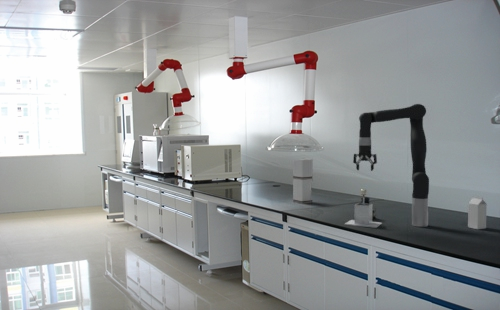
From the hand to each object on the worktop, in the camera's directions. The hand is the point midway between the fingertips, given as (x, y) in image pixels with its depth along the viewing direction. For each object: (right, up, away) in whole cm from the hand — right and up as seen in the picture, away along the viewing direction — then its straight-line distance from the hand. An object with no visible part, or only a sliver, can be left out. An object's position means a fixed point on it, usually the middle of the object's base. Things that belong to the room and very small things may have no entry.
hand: (364, 170), depth 303 cm
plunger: (-1, -29, +1) cm, 29 cm away
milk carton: (+65, -35, -11) cm, 75 cm away
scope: (+6, -33, +21) cm, 39 cm away
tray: (-1, -34, +2) cm, 34 cm away
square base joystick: (-1, -34, +2) cm, 34 cm away
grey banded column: (-30, -29, +88) cm, 97 cm away
